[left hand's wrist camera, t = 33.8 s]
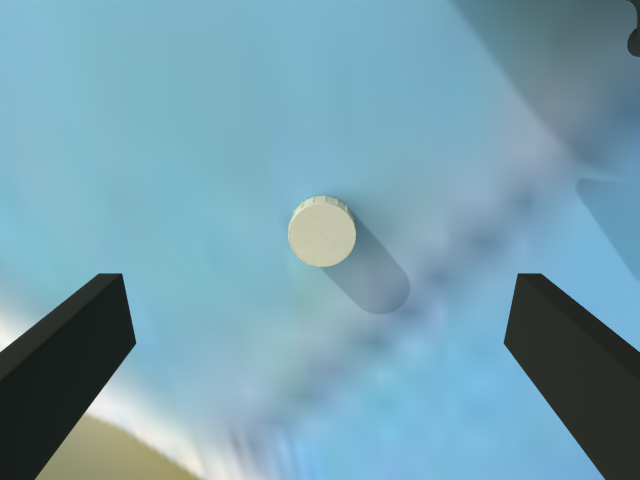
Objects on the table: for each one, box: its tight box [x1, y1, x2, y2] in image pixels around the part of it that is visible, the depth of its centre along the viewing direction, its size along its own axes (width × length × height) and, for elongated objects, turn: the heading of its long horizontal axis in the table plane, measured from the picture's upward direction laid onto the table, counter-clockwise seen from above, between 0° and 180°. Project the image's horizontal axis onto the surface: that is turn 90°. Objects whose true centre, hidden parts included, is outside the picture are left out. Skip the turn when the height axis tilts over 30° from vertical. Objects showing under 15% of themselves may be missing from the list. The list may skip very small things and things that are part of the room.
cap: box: [288, 195, 357, 267], centre depth 23 cm, size 4×4×2 cm
